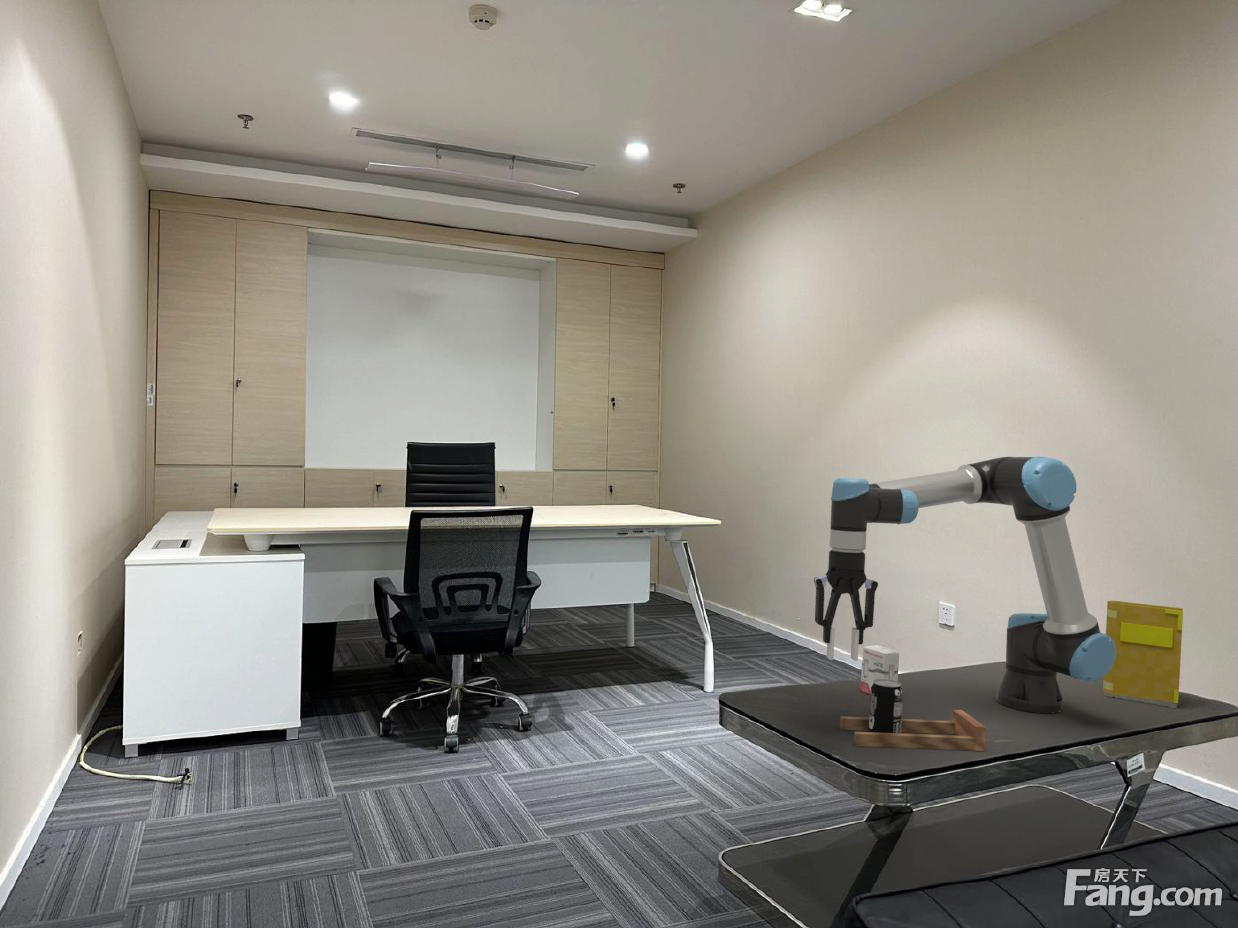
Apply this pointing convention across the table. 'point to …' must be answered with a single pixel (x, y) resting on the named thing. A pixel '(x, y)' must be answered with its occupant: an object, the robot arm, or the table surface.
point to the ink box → (878, 666)
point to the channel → (962, 726)
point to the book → (1144, 650)
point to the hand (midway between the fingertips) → (842, 658)
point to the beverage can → (885, 706)
